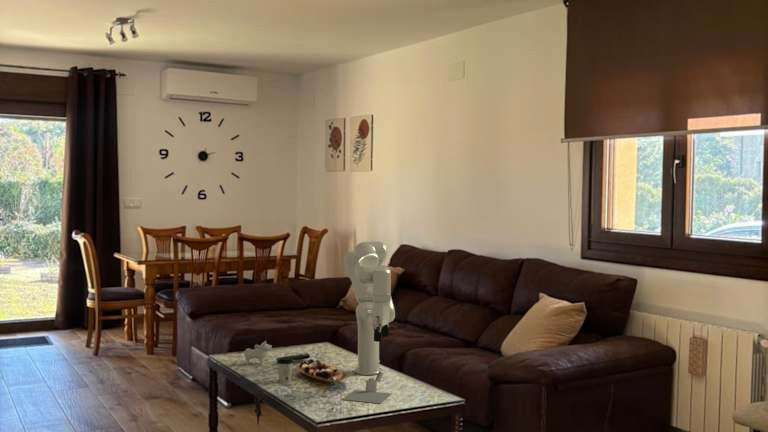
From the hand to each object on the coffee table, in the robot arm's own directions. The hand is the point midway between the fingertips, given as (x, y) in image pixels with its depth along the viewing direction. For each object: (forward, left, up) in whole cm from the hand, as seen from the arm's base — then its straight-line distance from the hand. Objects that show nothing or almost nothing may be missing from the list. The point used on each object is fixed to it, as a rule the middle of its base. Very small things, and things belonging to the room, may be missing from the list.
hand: (381, 338), depth 320 cm
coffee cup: (+8, -41, -20) cm, 46 cm away
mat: (+17, 0, -20) cm, 26 cm away
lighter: (+9, 0, -20) cm, 22 cm away
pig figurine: (-15, -67, -20) cm, 72 cm away
